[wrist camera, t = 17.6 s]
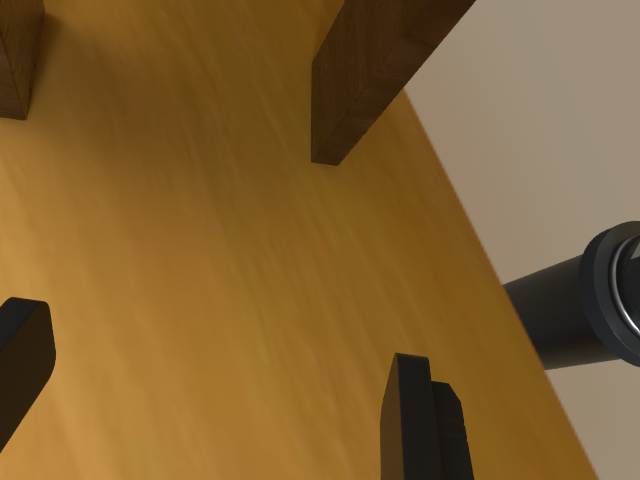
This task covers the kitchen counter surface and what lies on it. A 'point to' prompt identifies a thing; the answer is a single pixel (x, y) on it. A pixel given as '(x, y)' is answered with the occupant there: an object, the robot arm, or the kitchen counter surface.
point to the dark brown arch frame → (327, 68)
